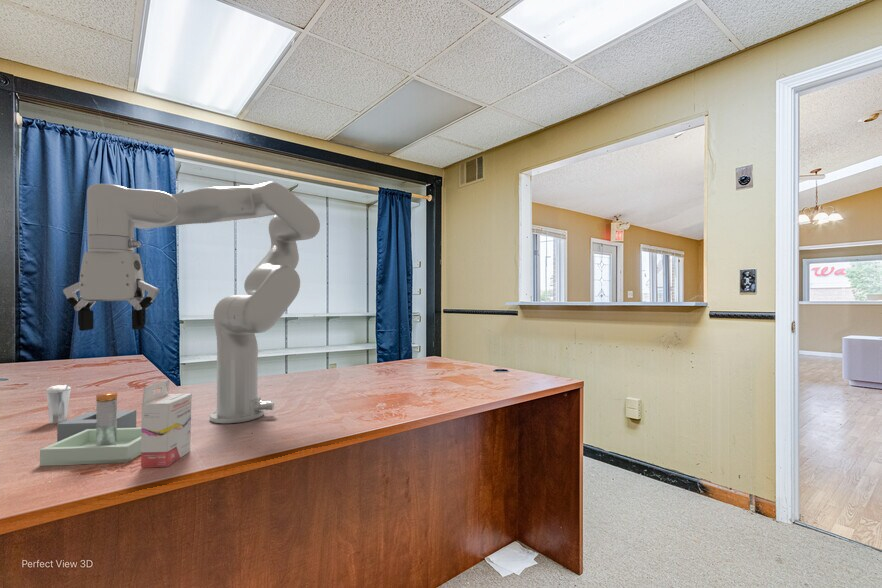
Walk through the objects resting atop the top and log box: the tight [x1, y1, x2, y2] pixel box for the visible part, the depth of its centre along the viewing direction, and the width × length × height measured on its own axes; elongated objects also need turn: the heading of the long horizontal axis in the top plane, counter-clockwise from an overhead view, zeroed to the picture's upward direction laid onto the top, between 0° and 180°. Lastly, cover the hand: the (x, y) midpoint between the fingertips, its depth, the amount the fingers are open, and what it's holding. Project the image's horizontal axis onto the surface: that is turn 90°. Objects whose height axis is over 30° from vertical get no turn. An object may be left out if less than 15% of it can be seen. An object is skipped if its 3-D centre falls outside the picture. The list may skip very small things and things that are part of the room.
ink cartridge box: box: [140, 379, 193, 468], centre depth 81 cm, size 9×5×15 cm, turn 5°
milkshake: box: [45, 381, 72, 425], centre depth 104 cm, size 4×5×10 cm
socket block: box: [56, 409, 137, 442], centre depth 95 cm, size 10×10×4 cm
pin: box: [95, 391, 118, 446], centre depth 84 cm, size 3×3×11 cm
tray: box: [39, 426, 142, 467], centre depth 84 cm, size 15×12×3 cm
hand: (112, 329), depth 86 cm, fingers open, 9 cm apart
